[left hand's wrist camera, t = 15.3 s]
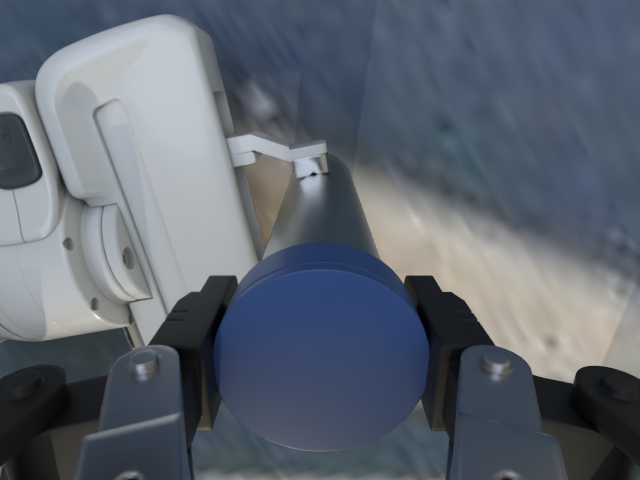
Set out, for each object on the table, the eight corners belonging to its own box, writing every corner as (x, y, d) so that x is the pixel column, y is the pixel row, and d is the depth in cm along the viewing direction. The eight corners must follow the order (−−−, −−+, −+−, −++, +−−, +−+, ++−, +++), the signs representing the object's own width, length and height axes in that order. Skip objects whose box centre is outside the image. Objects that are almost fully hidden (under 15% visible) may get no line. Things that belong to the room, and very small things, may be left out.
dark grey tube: (283, 202, 28) (217, 394, 10) (301, 144, 27) (261, 250, 9) (339, 220, 29) (370, 434, 11) (360, 164, 27) (434, 303, 9)
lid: (353, 427, 12) (359, 478, 10) (197, 359, 11) (177, 403, 9) (452, 296, 10) (476, 332, 9) (279, 205, 10) (272, 227, 8)
